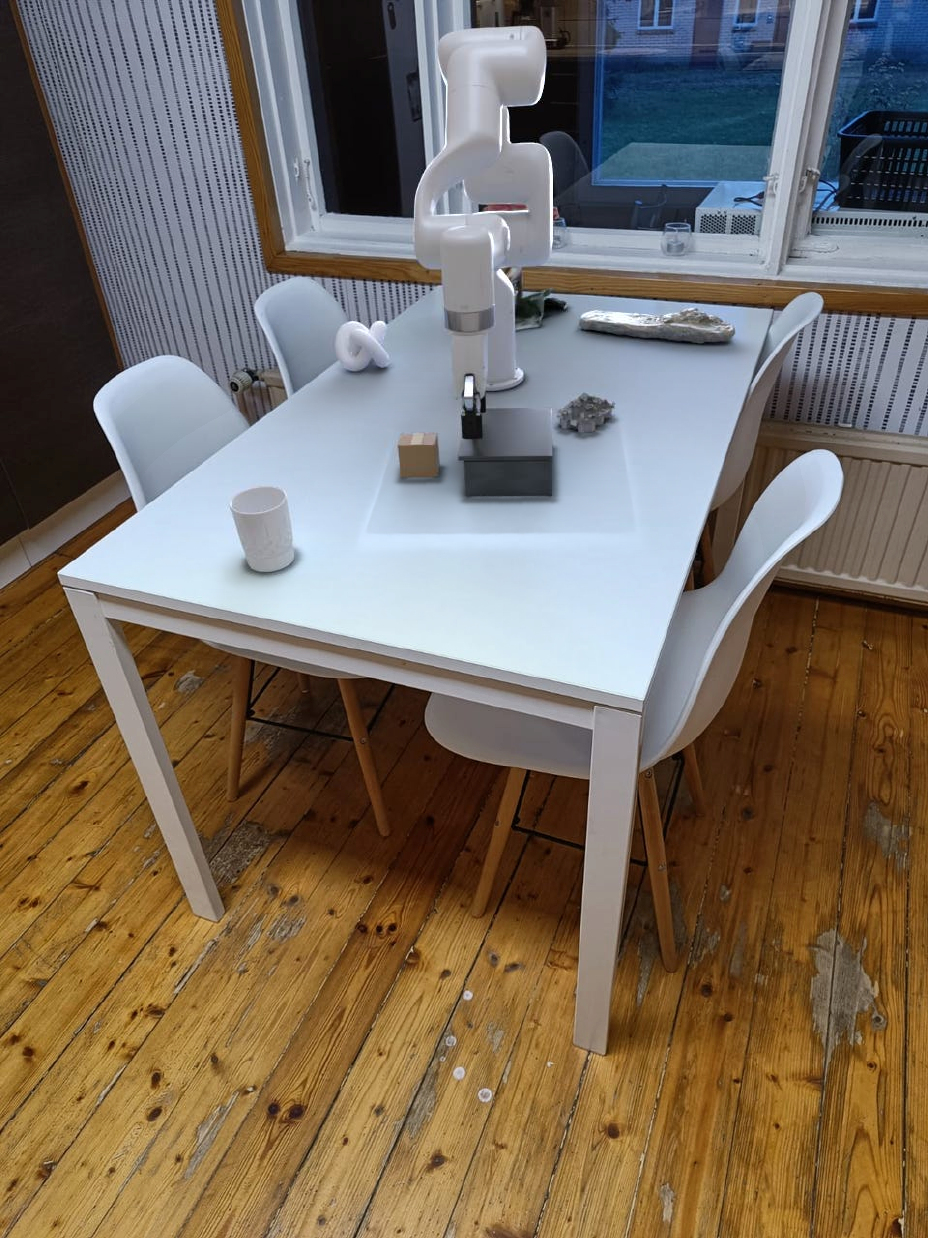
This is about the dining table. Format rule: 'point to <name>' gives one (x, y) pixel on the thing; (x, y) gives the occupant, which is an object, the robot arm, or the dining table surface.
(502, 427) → the lid
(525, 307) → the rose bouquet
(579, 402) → the grey rock
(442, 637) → the dining table surface
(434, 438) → the package
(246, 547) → the white cup
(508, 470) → the chest
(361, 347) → the white knot sculpture
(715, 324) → the long grey stone
